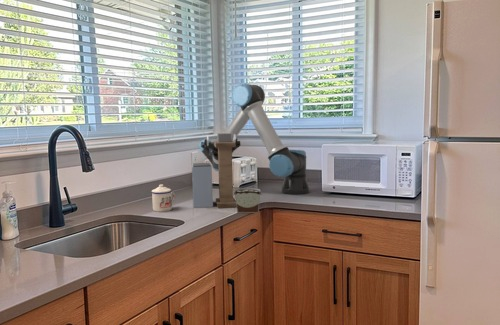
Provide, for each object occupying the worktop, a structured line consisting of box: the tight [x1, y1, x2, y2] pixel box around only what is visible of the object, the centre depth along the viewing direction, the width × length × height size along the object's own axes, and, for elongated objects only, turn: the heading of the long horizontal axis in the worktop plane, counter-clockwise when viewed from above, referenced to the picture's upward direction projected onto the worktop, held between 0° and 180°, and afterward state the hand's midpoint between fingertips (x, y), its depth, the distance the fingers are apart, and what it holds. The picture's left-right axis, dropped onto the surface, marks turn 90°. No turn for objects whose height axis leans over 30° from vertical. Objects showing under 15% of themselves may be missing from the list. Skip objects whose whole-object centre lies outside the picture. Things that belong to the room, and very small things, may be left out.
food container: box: [233, 187, 262, 214], centre depth 195 cm, size 12×6×10 cm, turn 84°
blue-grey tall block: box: [191, 162, 214, 209], centre depth 210 cm, size 11×9×20 cm
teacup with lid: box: [151, 184, 176, 213], centre depth 202 cm, size 12×9×12 cm
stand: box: [213, 141, 237, 209], centre depth 208 cm, size 14×9×30 cm, turn 8°
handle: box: [217, 132, 231, 143], centre depth 214 cm, size 19×6×4 cm, turn 8°
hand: (221, 137), depth 219 cm, fingers open, 13 cm apart
